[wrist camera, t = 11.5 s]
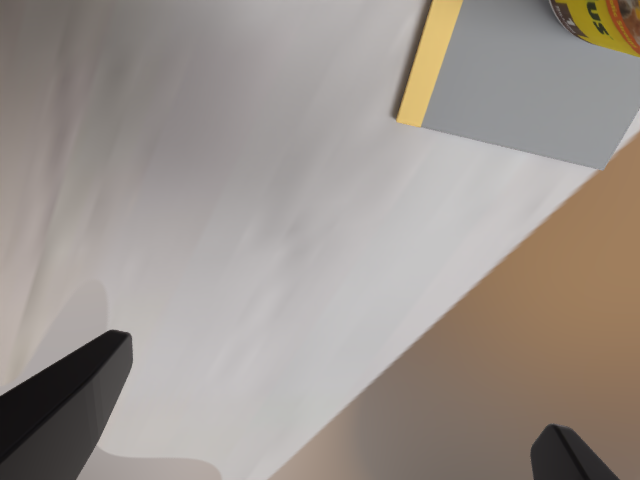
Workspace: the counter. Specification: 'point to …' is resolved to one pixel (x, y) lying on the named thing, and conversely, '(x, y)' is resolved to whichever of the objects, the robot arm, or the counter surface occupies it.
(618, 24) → the supplement bottle
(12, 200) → the counter surface
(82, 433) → the robot arm
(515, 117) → the mat
